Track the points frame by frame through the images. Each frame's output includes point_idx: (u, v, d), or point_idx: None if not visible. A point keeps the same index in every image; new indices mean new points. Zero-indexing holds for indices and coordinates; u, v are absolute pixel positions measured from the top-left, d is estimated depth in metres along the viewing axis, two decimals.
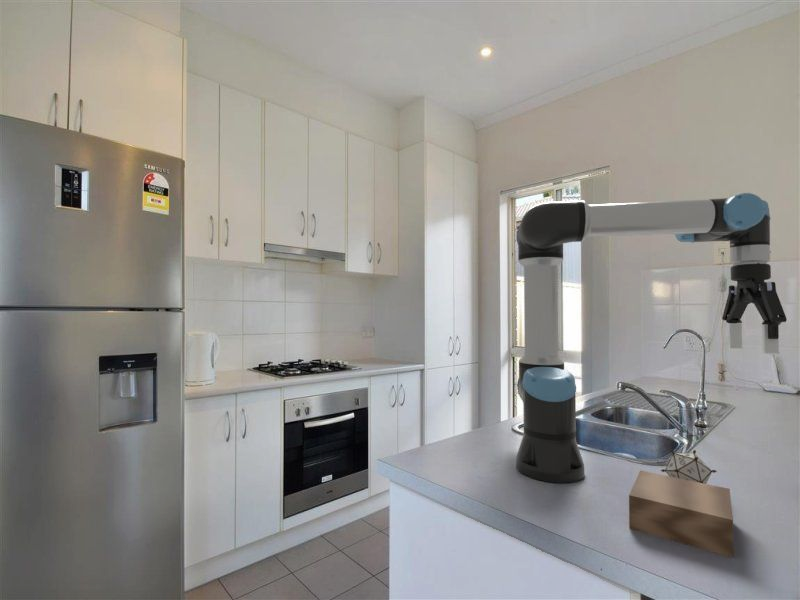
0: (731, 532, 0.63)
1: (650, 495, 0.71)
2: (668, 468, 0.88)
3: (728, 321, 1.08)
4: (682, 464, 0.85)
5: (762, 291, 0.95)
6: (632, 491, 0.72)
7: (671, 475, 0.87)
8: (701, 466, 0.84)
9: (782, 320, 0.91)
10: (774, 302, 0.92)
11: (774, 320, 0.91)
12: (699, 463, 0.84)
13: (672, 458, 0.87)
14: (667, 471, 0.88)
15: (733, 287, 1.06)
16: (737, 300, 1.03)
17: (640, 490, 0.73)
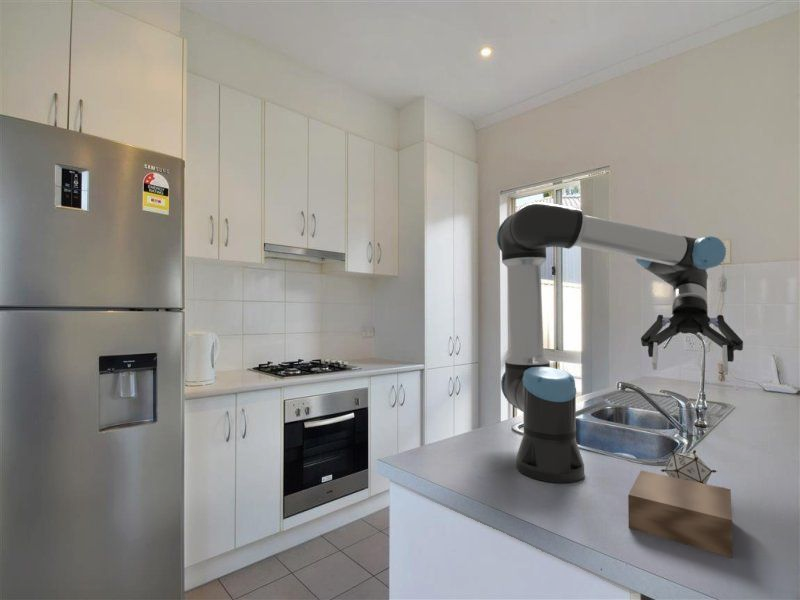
0: (730, 532, 0.63)
1: (649, 495, 0.71)
2: (668, 468, 0.88)
3: (653, 341, 1.03)
4: (682, 464, 0.85)
5: (721, 321, 0.99)
6: (632, 491, 0.73)
7: (671, 475, 0.87)
8: (701, 466, 0.84)
9: (742, 347, 0.94)
10: None
11: (742, 343, 0.93)
12: (699, 463, 0.84)
13: (672, 458, 0.87)
14: (667, 471, 0.88)
15: (662, 317, 1.08)
16: (676, 325, 1.03)
17: (639, 490, 0.73)
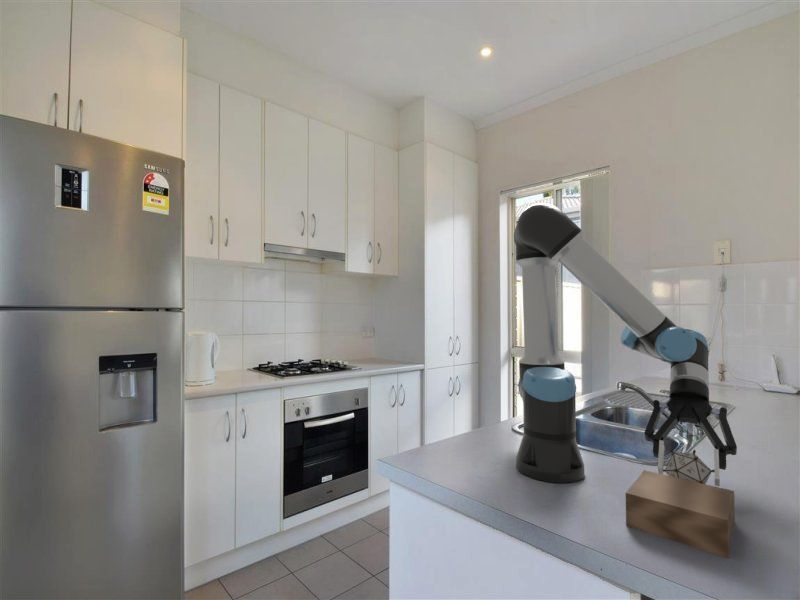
0: (726, 532, 0.62)
1: (647, 494, 0.71)
2: (668, 468, 0.88)
3: (658, 438, 0.90)
4: (682, 464, 0.85)
5: (723, 416, 0.88)
6: (630, 489, 0.73)
7: (671, 475, 0.87)
8: (700, 466, 0.84)
9: (735, 452, 0.83)
10: None
11: (735, 448, 0.83)
12: (699, 463, 0.84)
13: (672, 458, 0.87)
14: (667, 471, 0.88)
15: (659, 403, 0.96)
16: (677, 414, 0.92)
17: (638, 489, 0.73)
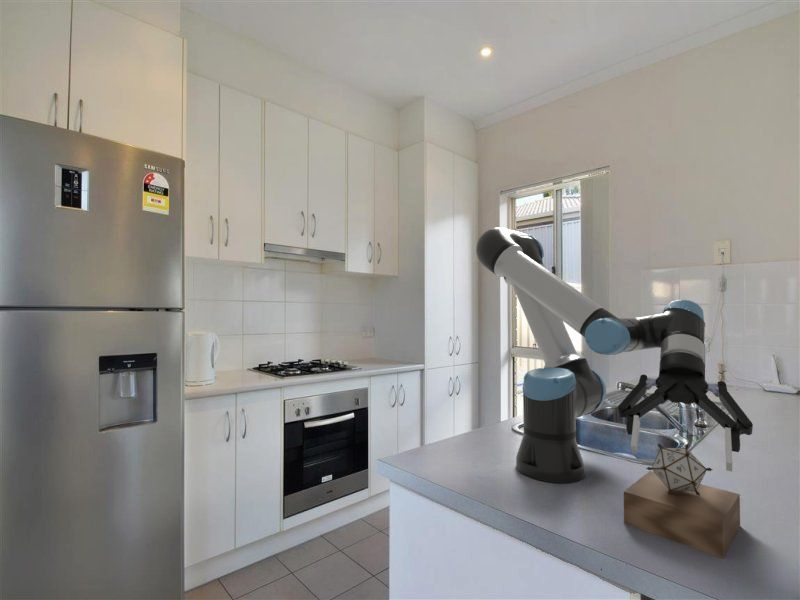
0: (721, 533, 0.62)
1: (645, 493, 0.72)
2: (655, 465, 0.74)
3: (633, 413, 0.79)
4: (671, 461, 0.71)
5: (723, 390, 0.74)
6: (629, 488, 0.74)
7: (658, 474, 0.73)
8: (693, 463, 0.70)
9: (751, 431, 0.69)
10: None
11: (751, 426, 0.69)
12: (691, 459, 0.70)
13: (660, 454, 0.74)
14: (654, 469, 0.74)
15: (647, 378, 0.83)
16: (664, 392, 0.79)
17: (638, 488, 0.74)
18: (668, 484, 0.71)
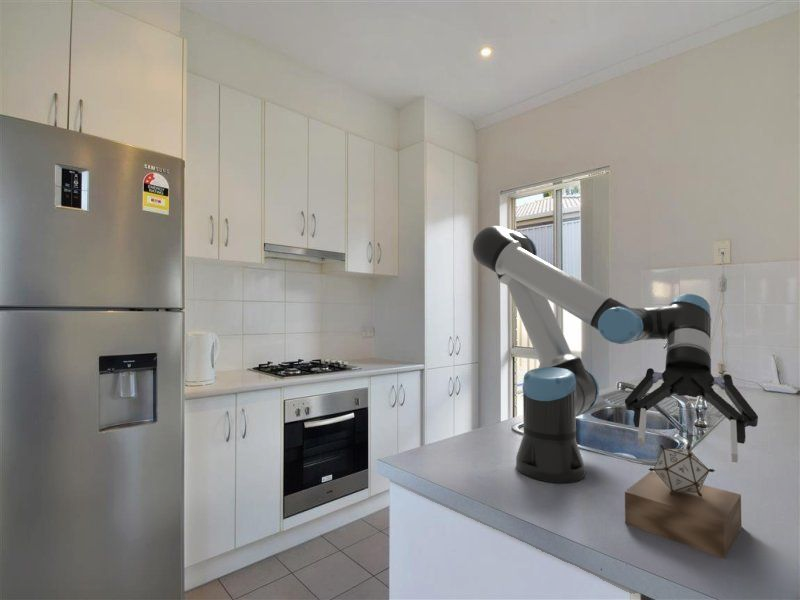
0: (722, 534, 0.62)
1: (646, 494, 0.72)
2: (657, 466, 0.74)
3: (640, 406, 0.80)
4: (674, 461, 0.71)
5: (729, 383, 0.76)
6: (630, 489, 0.74)
7: (660, 475, 0.73)
8: (695, 464, 0.70)
9: None
10: None
11: (757, 418, 0.70)
12: (694, 460, 0.70)
13: (662, 454, 0.73)
14: (656, 470, 0.74)
15: (653, 372, 0.85)
16: (670, 385, 0.80)
17: (639, 488, 0.74)
18: (670, 485, 0.71)
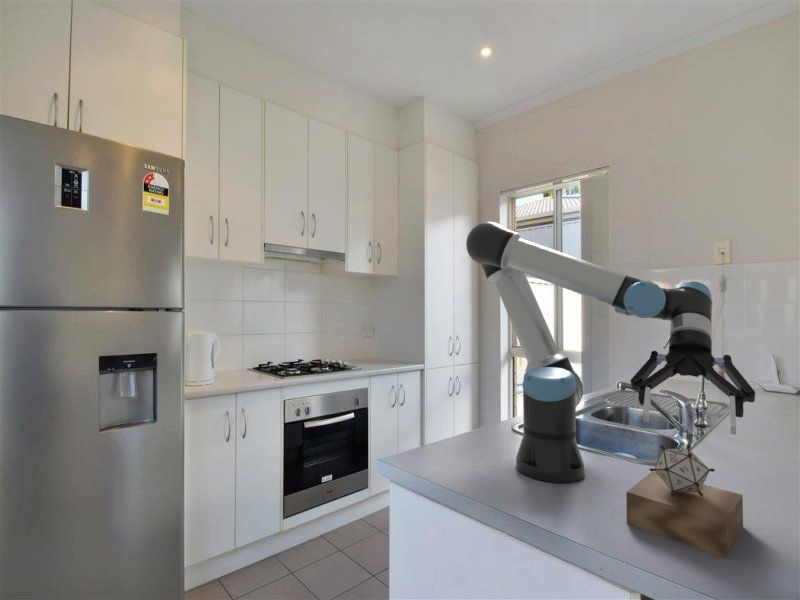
0: (724, 534, 0.62)
1: (648, 494, 0.72)
2: (657, 466, 0.74)
3: (645, 385, 0.85)
4: (674, 462, 0.71)
5: (729, 363, 0.81)
6: (632, 489, 0.74)
7: (661, 475, 0.73)
8: (696, 464, 0.70)
9: (754, 398, 0.76)
10: None
11: (754, 394, 0.75)
12: (694, 460, 0.70)
13: (662, 455, 0.73)
14: (656, 470, 0.74)
15: (657, 354, 0.90)
16: (673, 365, 0.85)
17: (640, 489, 0.74)
18: (671, 485, 0.71)
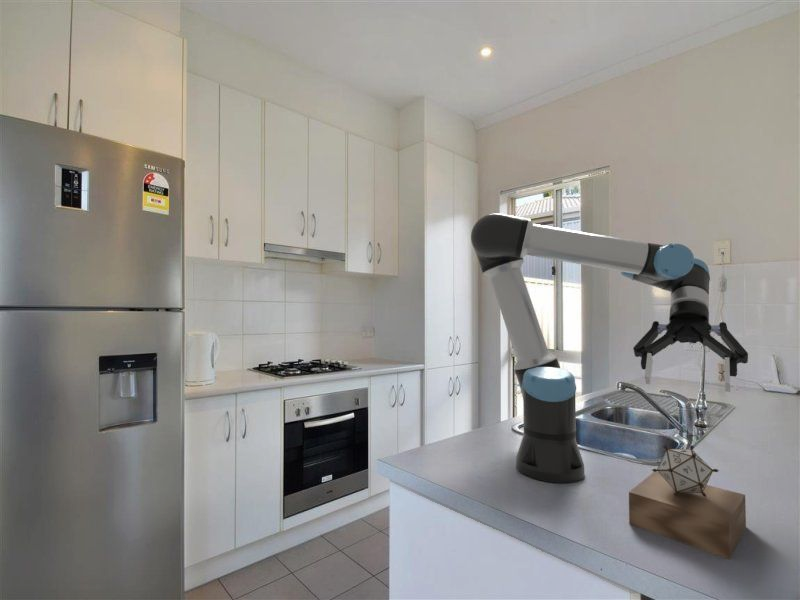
0: (727, 534, 0.62)
1: (651, 494, 0.72)
2: (660, 467, 0.73)
3: (646, 351, 0.92)
4: (677, 462, 0.70)
5: (724, 329, 0.88)
6: (634, 489, 0.74)
7: (664, 476, 0.72)
8: (699, 464, 0.69)
9: (747, 360, 0.83)
10: None
11: (747, 355, 0.82)
12: (697, 461, 0.70)
13: (665, 455, 0.73)
14: (660, 471, 0.73)
15: (658, 324, 0.97)
16: (673, 333, 0.92)
17: (643, 489, 0.74)
18: (675, 486, 0.71)
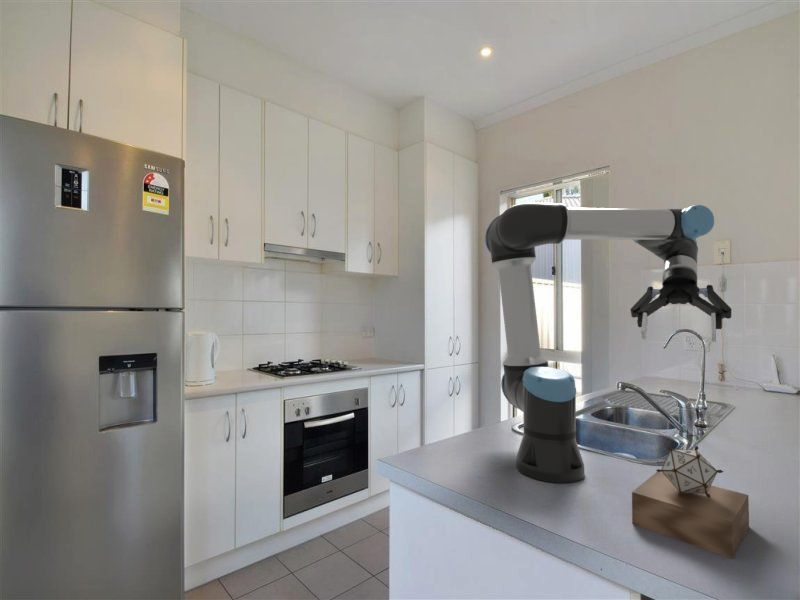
0: (730, 534, 0.62)
1: (654, 494, 0.72)
2: (664, 467, 0.73)
3: (642, 311, 1.03)
4: (682, 463, 0.70)
5: (711, 290, 0.99)
6: (637, 489, 0.74)
7: (668, 476, 0.72)
8: (704, 465, 0.69)
9: None
10: None
11: (730, 310, 0.93)
12: (702, 461, 0.70)
13: (670, 456, 0.73)
14: (664, 471, 0.73)
15: (652, 289, 1.08)
16: (666, 295, 1.03)
17: (646, 489, 0.74)
18: (679, 486, 0.71)
